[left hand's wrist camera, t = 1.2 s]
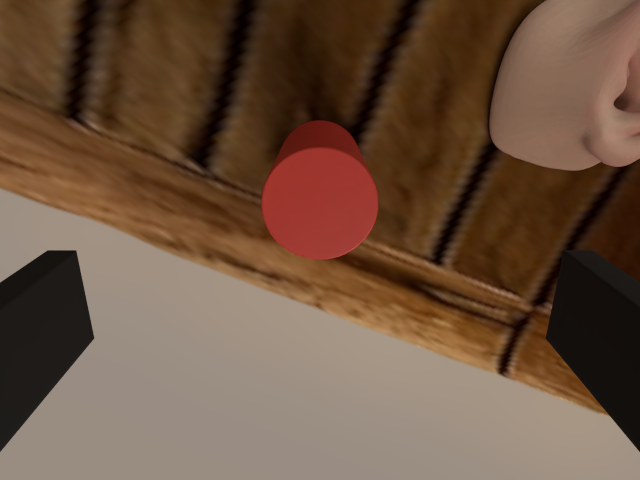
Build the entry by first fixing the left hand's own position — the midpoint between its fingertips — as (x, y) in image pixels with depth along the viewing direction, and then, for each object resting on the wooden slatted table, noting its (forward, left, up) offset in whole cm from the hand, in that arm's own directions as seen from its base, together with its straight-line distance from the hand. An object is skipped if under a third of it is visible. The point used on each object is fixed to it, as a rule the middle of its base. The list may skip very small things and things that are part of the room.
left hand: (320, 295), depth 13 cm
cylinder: (0, 0, -19) cm, 19 cm away
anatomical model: (-10, +14, -19) cm, 26 cm away
